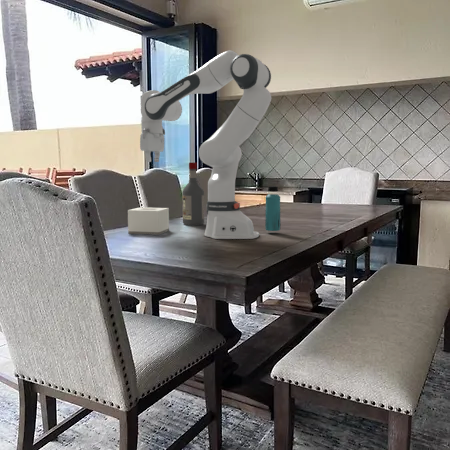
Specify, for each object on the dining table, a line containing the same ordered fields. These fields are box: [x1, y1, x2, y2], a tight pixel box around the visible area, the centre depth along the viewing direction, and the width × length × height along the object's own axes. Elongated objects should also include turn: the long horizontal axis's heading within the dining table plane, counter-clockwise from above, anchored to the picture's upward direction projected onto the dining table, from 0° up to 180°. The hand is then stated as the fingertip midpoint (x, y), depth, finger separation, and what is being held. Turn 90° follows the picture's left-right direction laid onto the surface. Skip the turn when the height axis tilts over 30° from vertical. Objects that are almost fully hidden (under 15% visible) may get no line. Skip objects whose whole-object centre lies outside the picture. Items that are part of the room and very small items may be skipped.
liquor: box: [181, 162, 205, 227], centre depth 217 cm, size 9×9×30 cm
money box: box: [127, 207, 170, 236], centre depth 194 cm, size 14×12×10 cm
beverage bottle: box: [264, 185, 282, 232], centre depth 188 cm, size 6×7×20 cm
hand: (152, 161), depth 195 cm, fingers open, 8 cm apart
